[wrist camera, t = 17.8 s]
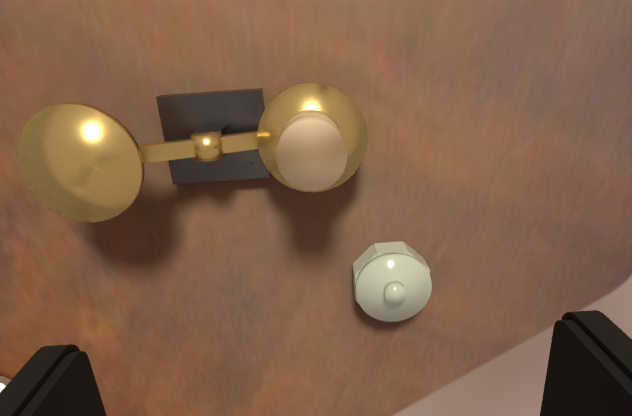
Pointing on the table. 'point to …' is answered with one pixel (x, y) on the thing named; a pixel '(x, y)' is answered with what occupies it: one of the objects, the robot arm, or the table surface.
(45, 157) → the balance
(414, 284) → the lid
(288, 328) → the table surface
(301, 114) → the beige cylinder
